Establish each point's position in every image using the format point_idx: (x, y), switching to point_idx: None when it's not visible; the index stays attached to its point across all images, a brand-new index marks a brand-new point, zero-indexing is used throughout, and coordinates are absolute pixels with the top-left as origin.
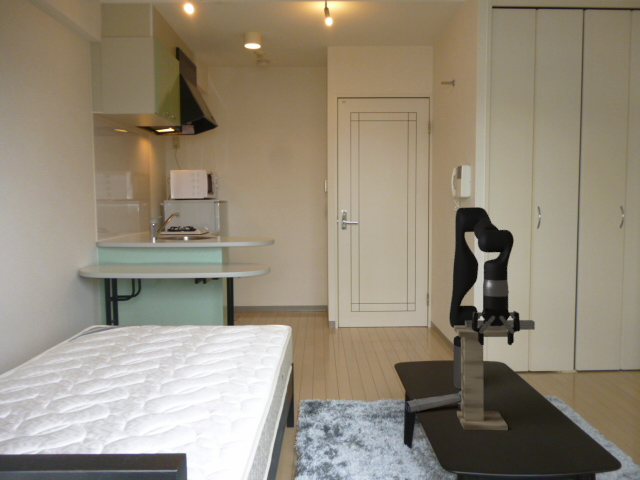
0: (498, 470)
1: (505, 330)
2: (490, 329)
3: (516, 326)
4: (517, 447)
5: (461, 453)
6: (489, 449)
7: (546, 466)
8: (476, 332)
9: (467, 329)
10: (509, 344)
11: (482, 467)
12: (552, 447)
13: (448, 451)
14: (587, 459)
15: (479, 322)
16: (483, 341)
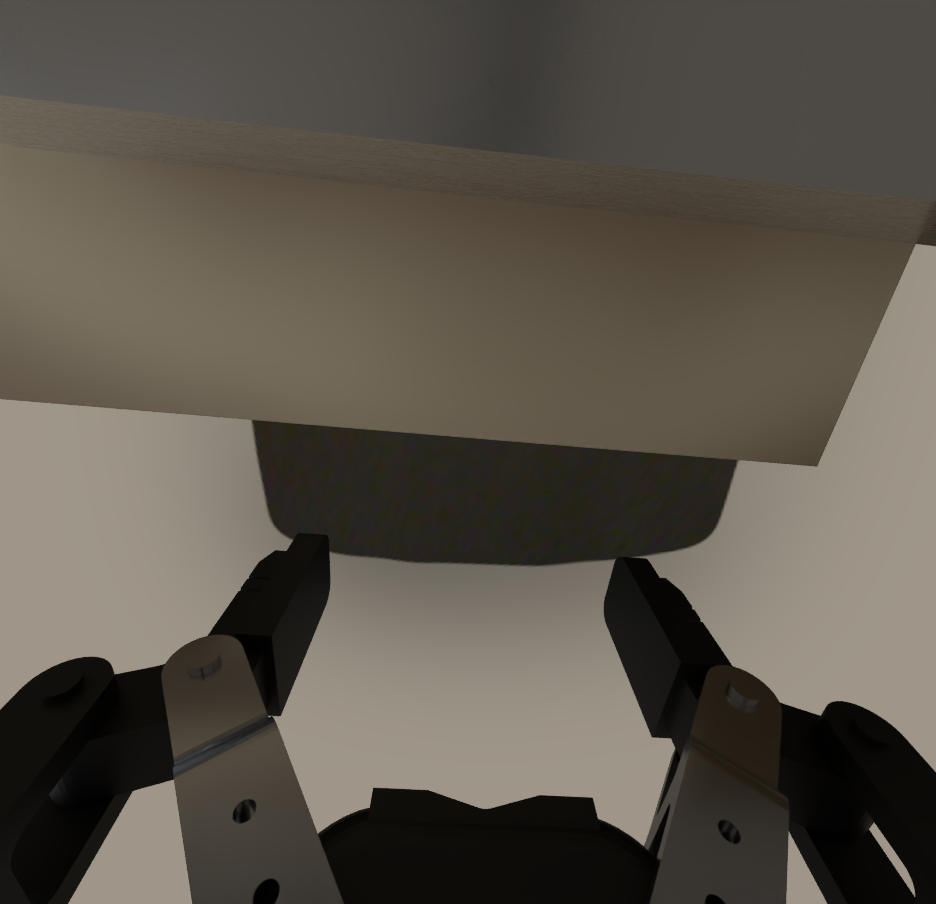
0: (400, 557)
1: (837, 322)
2: (576, 203)
3: (826, 884)
4: (501, 447)
5: (322, 473)
6: (412, 454)
7: (529, 545)
8: (226, 417)
9: (32, 144)
10: (605, 614)
11: (364, 543)
12: (606, 452)
13: (285, 460)
14: (657, 519)
15: (247, 131)
16: (311, 629)
